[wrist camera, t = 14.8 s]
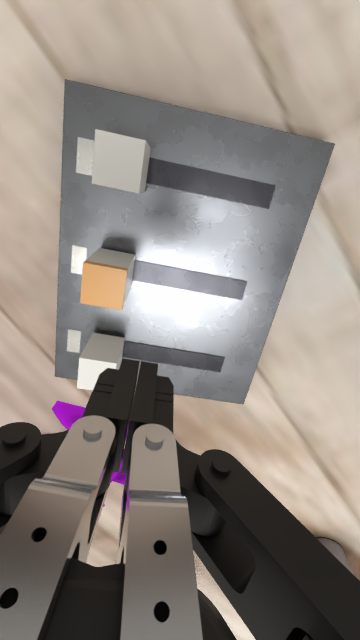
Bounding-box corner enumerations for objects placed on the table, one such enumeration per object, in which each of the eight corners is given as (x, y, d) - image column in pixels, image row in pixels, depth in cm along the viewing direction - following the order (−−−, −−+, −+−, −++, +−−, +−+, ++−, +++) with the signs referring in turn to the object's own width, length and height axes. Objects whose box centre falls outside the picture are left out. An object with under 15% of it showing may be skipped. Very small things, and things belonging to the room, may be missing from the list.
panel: (323, 146, 25) (335, 143, 23) (239, 392, 35) (243, 405, 33) (73, 87, 23) (64, 78, 21) (61, 365, 33) (54, 377, 31)
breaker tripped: (135, 254, 26) (126, 270, 21) (131, 288, 27) (121, 310, 22) (99, 247, 25) (82, 262, 21) (96, 282, 27) (80, 303, 22)
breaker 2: (124, 337, 29) (116, 363, 25) (121, 364, 30) (112, 393, 26) (92, 332, 29) (79, 357, 24) (90, 359, 30) (77, 387, 26)
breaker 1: (150, 148, 22) (145, 140, 18) (144, 191, 24) (138, 193, 20) (110, 138, 22) (95, 129, 18) (105, 183, 23) (91, 183, 19)
